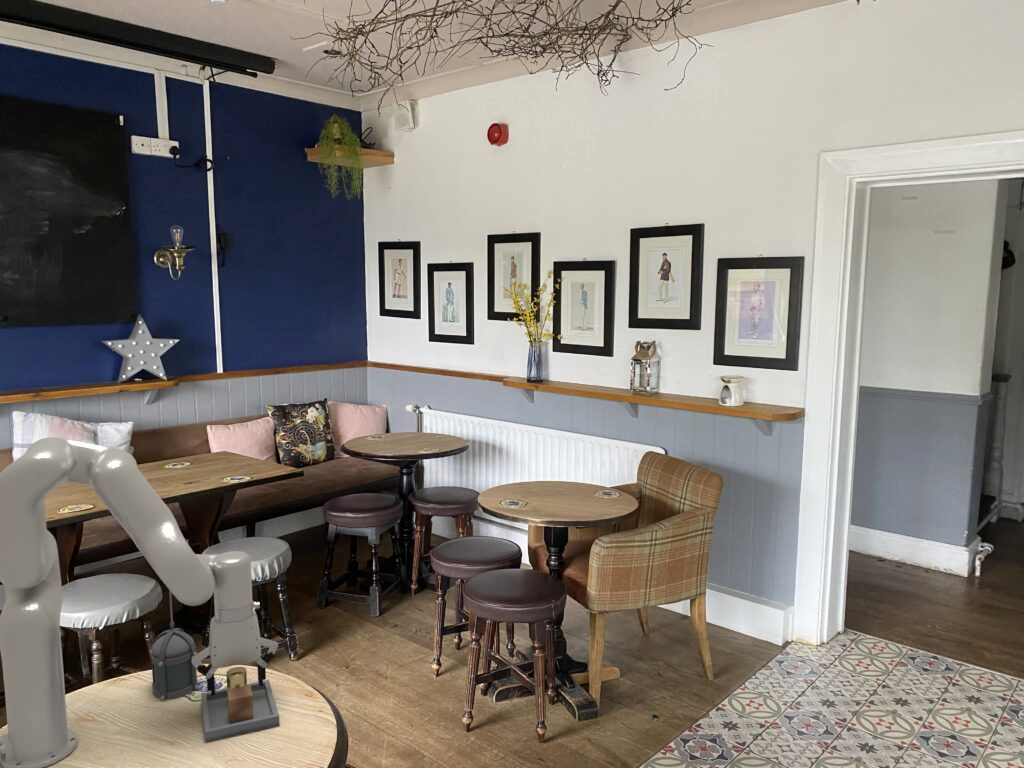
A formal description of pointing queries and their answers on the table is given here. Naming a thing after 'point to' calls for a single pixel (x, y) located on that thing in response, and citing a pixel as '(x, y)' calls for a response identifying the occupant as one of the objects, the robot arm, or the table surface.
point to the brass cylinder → (236, 678)
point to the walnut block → (240, 704)
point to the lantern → (173, 663)
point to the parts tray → (262, 719)
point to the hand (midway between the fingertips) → (237, 687)
